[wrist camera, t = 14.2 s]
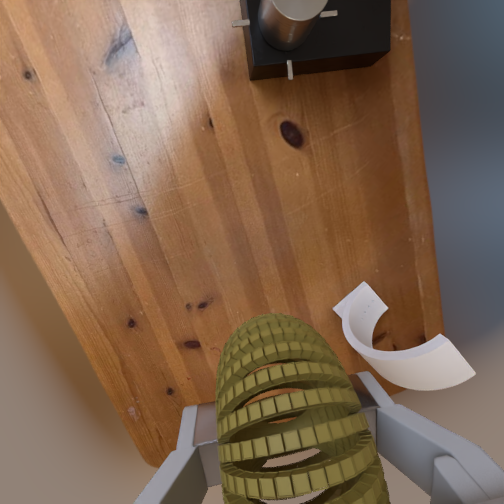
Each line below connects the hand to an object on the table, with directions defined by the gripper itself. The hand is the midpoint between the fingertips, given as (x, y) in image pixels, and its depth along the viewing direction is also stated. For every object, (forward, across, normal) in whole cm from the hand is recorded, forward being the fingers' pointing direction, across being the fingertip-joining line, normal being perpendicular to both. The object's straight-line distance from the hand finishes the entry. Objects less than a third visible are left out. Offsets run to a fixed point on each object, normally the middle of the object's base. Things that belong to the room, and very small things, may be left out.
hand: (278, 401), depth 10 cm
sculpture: (+3, 0, 0) cm, 3 cm away
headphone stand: (+19, -13, +9) cm, 25 cm away
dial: (+16, -6, -20) cm, 27 cm away
